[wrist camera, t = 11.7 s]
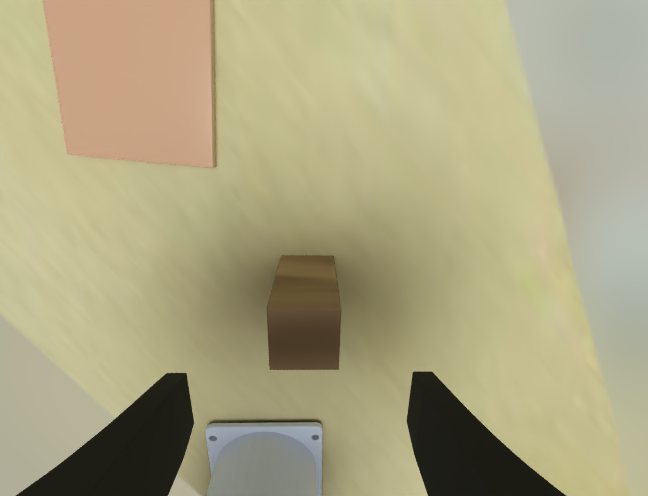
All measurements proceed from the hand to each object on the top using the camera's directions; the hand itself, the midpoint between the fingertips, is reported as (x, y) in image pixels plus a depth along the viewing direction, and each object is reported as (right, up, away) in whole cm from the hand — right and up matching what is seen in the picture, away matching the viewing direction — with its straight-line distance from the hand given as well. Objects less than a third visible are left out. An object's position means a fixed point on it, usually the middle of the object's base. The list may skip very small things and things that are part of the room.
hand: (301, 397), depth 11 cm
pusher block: (0, +3, +9) cm, 9 cm away
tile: (-8, +9, +6) cm, 14 cm away
